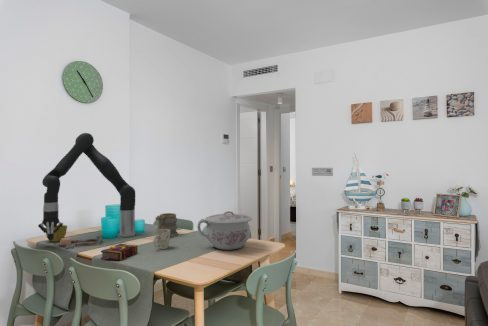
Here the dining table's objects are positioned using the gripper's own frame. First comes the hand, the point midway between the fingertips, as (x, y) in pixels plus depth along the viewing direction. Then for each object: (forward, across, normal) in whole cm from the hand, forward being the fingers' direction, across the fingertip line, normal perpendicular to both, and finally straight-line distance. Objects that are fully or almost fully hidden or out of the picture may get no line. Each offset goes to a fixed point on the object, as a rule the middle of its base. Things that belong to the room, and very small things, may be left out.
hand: (50, 239), depth 185 cm
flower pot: (+4, 0, -14) cm, 14 cm away
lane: (+4, -16, 0) cm, 17 cm away
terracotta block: (+4, -8, 0) cm, 9 cm away
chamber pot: (+3, -97, +36) cm, 103 cm away
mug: (+4, -60, +27) cm, 66 cm away
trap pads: (+4, -13, 0) cm, 14 cm away
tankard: (+3, -65, -3) cm, 65 cm away
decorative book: (+4, -38, +34) cm, 51 cm away
